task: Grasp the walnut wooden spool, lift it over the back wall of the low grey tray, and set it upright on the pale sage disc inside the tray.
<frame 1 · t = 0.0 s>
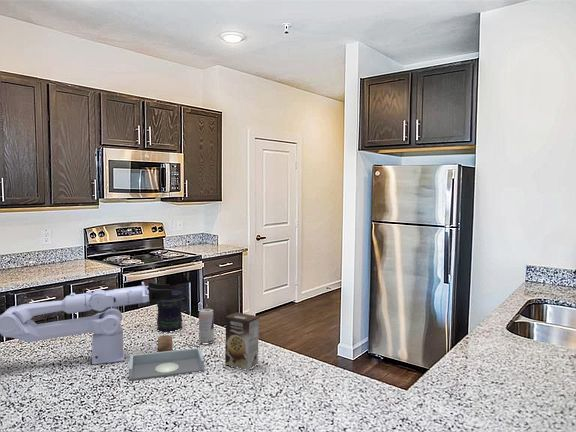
hand: (171, 290, 142), 22 cm above the worktop, tool horizontal, fingers open, 7 cm apart
spool: (165, 354, 141), on the worktop
energy drink: (206, 342, 153), on the worktop
storage jar: (169, 329, 168), on the worktop
coffee box: (241, 365, 133), on the worktop
grey tray: (166, 368, 130), on the worktop
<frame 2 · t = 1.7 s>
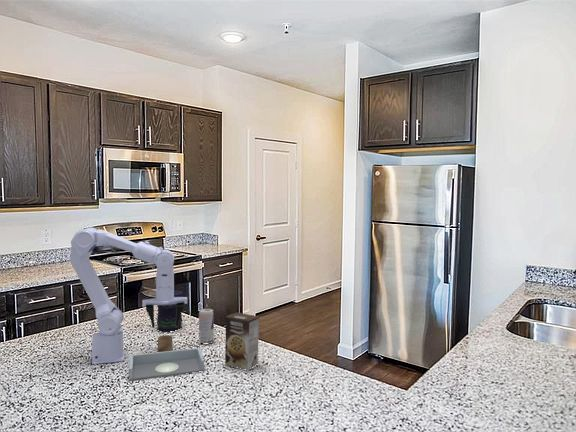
hand: (165, 325, 140), 10 cm above the worktop, tool pointing down, fingers open, 7 cm apart
nothing on the worktop moved.
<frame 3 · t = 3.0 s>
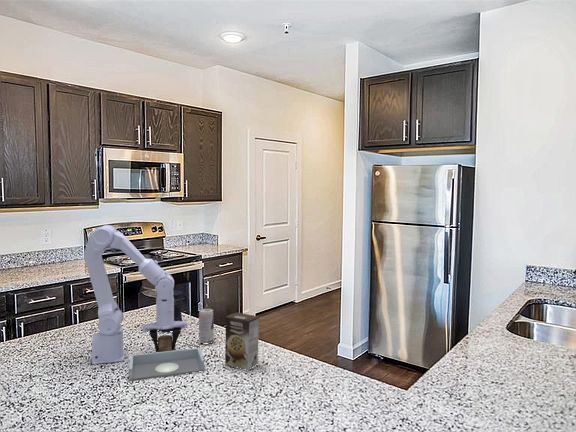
hand: (165, 350, 141), 2 cm above the worktop, tool pointing down, fingers closed on spool, 5 cm apart
spool: (165, 354, 141), on the worktop, touching gripper
everything else where it was.
when the fingers open (4 cm above the worktop, at t = 6.7 s): spool drops 1 cm, resting on grey tray.
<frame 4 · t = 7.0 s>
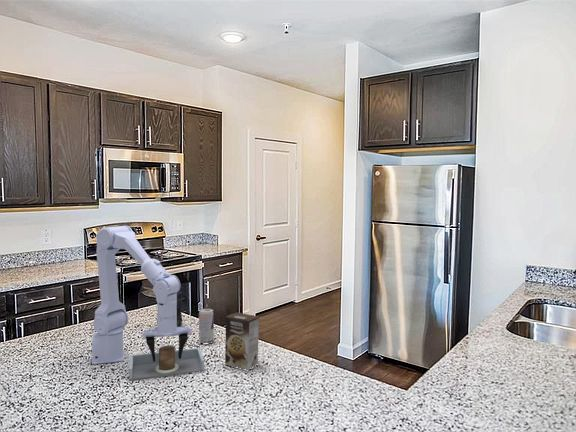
hand: (167, 358, 129), 4 cm above the worktop, tool pointing down, fingers open, 7 cm apart
spool: (166, 367, 129), point 1 cm above the worktop, touching grey tray
everything else where it was.
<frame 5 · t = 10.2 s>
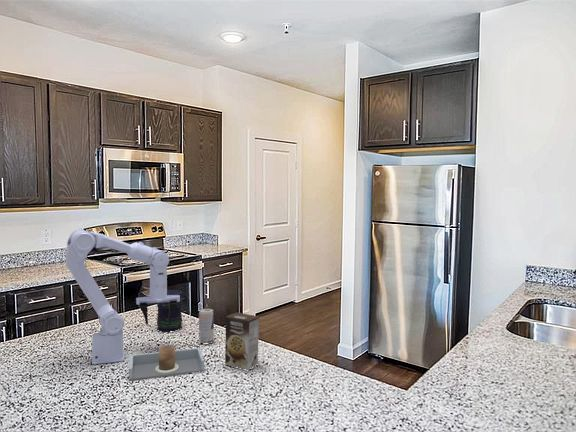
hand: (158, 322, 145), 9 cm above the worktop, tool pointing down, fingers open, 7 cm apart
nothing on the worktop moved.
at the end: spool 0.1 cm from the target spot on the grey tray, point 0.9 cm above the grey tray's base; spool tilted 0°; the gripper is holding nothing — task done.
